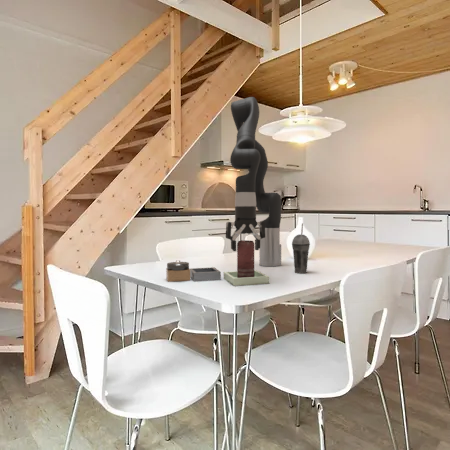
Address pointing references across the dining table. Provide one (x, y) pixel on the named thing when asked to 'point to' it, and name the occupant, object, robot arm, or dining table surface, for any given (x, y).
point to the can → (245, 259)
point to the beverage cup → (300, 252)
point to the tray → (246, 279)
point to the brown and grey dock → (190, 272)
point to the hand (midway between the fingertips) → (245, 250)
